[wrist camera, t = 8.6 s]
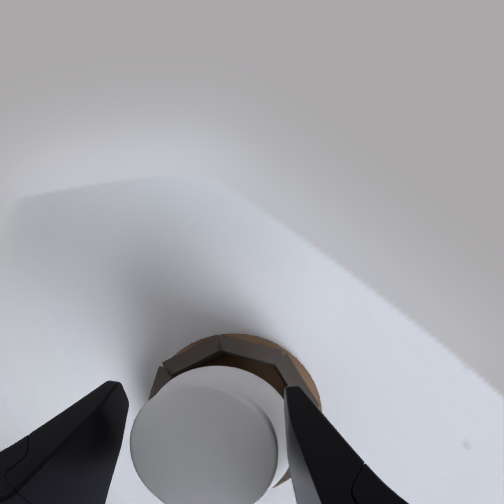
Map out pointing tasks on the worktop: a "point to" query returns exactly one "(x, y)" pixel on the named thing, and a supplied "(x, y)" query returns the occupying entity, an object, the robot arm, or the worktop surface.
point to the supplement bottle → (211, 438)
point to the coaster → (241, 365)
